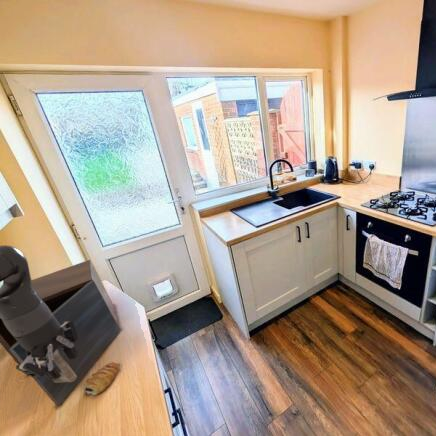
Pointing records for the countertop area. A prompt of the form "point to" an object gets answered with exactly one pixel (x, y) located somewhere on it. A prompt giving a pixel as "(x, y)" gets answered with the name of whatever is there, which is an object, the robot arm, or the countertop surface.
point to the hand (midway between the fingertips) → (65, 367)
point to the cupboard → (60, 293)
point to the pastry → (101, 379)
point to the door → (77, 341)
